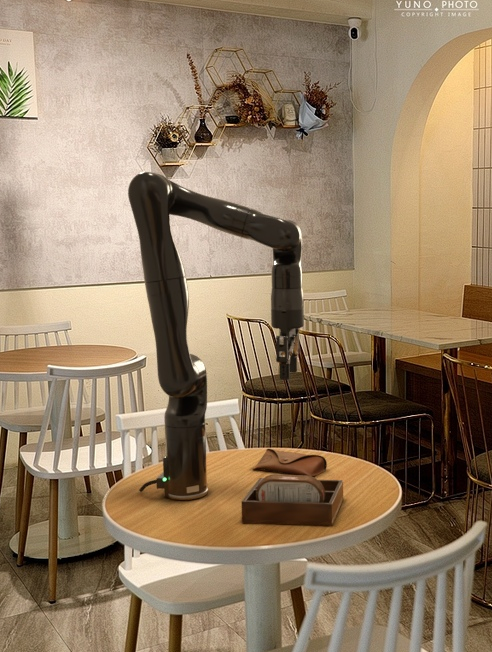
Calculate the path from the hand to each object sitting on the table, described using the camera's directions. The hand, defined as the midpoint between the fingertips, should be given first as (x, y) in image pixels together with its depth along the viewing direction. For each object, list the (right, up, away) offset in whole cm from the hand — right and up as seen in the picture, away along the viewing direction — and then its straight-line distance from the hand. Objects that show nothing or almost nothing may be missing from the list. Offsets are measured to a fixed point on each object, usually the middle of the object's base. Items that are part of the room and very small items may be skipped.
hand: (288, 375), depth 204 cm
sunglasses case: (-2, -26, +21) cm, 33 cm away
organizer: (+2, -30, -9) cm, 31 cm away
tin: (+2, -29, -13) cm, 32 cm away
